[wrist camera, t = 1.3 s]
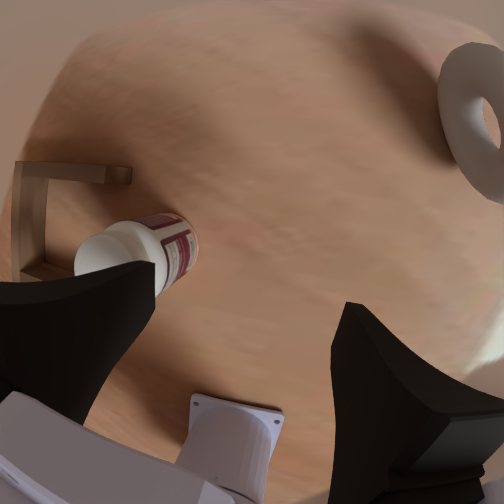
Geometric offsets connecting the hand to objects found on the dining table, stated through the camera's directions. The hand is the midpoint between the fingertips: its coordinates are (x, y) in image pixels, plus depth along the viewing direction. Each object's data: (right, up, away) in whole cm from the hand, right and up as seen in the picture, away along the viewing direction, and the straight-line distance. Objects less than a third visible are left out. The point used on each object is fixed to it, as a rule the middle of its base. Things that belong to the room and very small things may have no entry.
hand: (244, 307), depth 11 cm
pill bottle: (-6, +2, +11) cm, 12 cm away
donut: (+15, +10, +6) cm, 19 cm away
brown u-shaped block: (-14, +4, +11) cm, 19 cm away
